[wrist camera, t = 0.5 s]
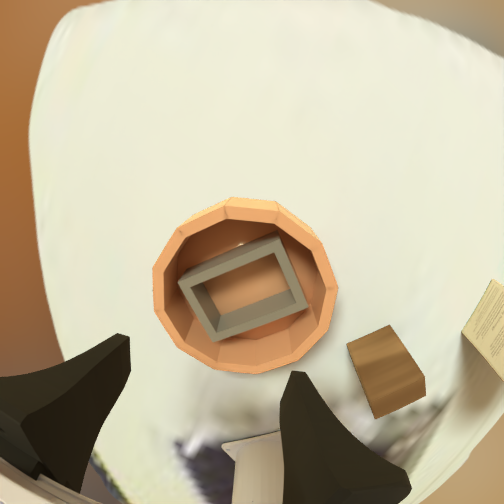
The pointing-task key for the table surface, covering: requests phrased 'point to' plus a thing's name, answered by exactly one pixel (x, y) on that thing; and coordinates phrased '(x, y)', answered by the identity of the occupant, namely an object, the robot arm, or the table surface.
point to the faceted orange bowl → (244, 286)
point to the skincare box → (489, 327)
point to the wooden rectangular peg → (386, 371)
